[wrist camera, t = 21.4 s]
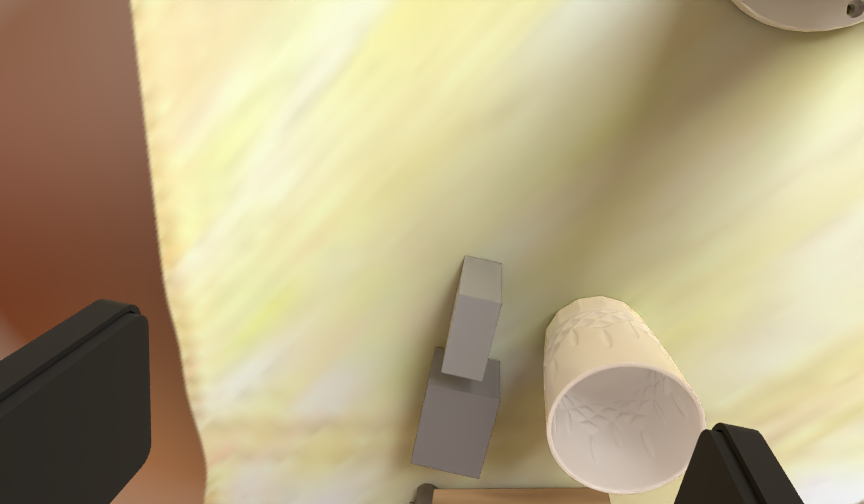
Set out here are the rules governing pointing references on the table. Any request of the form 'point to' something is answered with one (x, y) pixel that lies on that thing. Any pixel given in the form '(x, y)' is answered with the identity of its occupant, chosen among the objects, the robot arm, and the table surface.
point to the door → (510, 496)
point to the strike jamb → (473, 319)
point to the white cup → (616, 400)
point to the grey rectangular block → (457, 419)
